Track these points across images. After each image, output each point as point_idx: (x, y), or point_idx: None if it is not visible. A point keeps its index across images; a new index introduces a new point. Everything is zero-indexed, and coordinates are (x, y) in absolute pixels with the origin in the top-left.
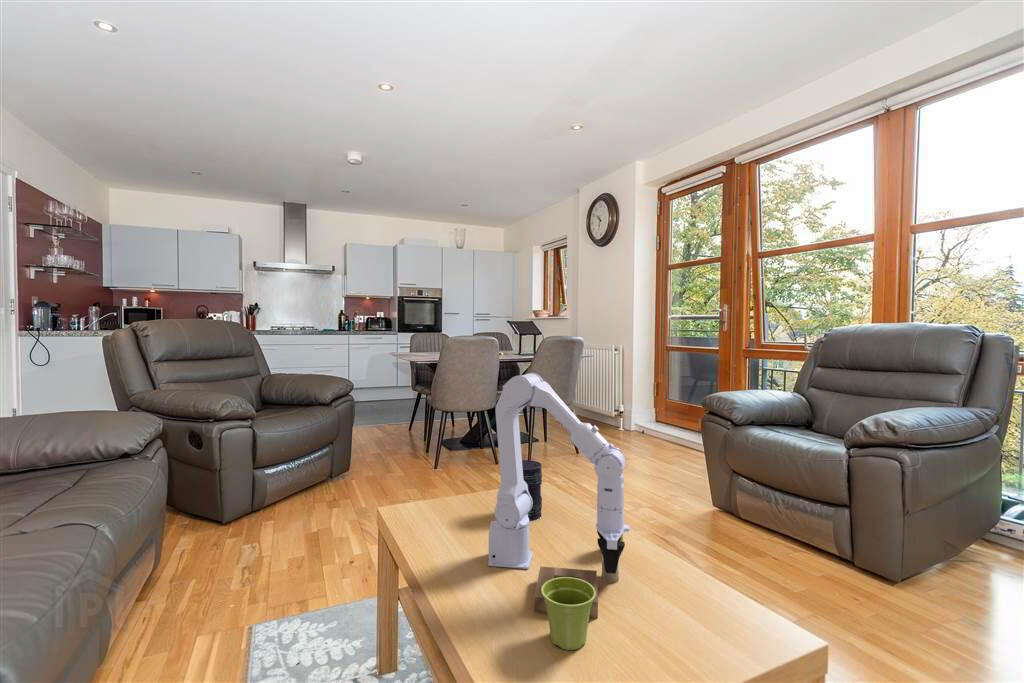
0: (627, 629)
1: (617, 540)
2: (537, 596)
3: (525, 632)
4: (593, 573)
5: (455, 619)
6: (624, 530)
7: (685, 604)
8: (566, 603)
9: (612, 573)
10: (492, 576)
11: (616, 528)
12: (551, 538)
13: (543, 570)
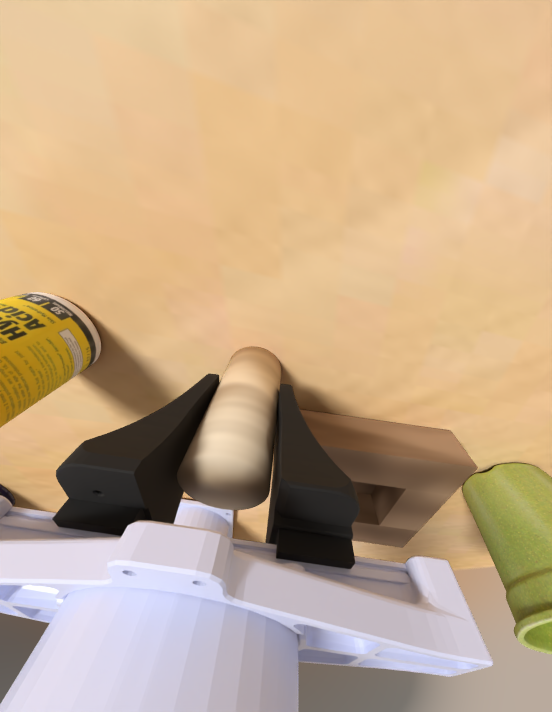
0: (531, 379)
1: (425, 615)
2: (402, 544)
3: (447, 523)
4: None
5: None
6: (238, 576)
7: (488, 81)
8: (494, 540)
9: (279, 387)
10: (264, 539)
11: (293, 674)
12: (65, 459)
13: None
